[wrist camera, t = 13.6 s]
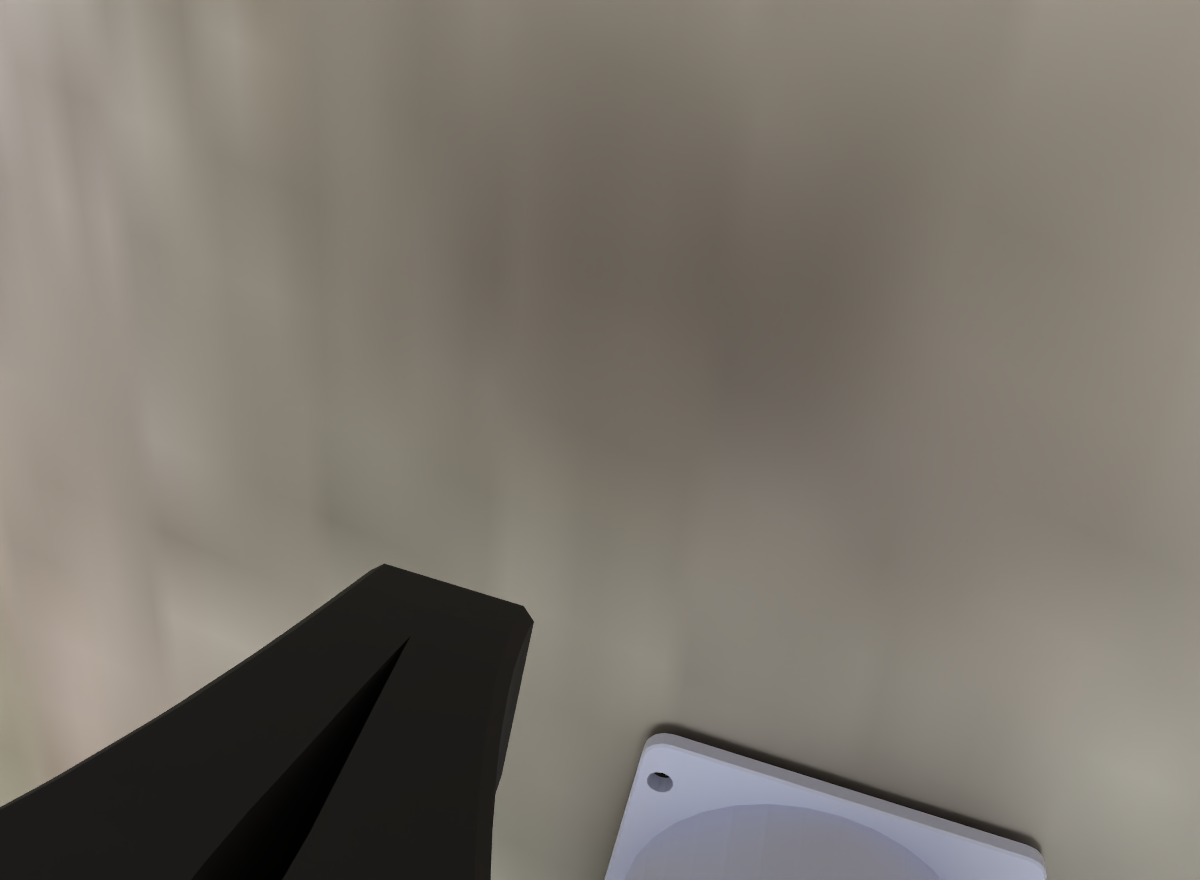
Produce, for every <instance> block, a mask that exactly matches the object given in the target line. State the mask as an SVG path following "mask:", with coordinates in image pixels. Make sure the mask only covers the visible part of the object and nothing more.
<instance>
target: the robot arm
mask: <svg viewBox="0 0 1200 880" xmlns="http://www.w3.org/2000/svg"><path fill="white" fill-rule="evenodd" d="M533 623H534V621H533V619H532V618H531V617H530V615H529V614H528V612H527V611H526V609H525V608H524V606H521V605H518V604H515V603H511V602H508V601H505V600H502V599H498V598H495V597H492V596H488V595H485V594H482V593H479V592H475V591H472V590H469V589H466V588H462V587H459V586H456V585H452V584H449V583H446V582H443V581H439V580H436V579H433V578H429V577H426V576H423V575H420V574H416V573H413V572H410V571H407V570H403V569H400V568H397V567H393V566H390V565H387V564H383V565H381V566H379V567H377V568H375V569H373V570H371V571H369V572H368V573H366V574H365V575H364V576H362V577H361V578H360V579H358V580H357V581H355V582H354V583H353V584H351V585H350V586H349V587H347V588H346V589H345V590H343V591H342V592H340V593H339V594H338V595H336V596H335V597H334V598H332V599H331V600H329V601H328V602H327V603H325V604H324V605H323V606H321V607H320V608H318V609H317V610H316V611H314V612H313V613H312V614H310V615H309V616H307V617H306V618H305V619H303V620H302V621H300V622H299V623H297V624H296V625H295V626H293V627H292V628H290V629H289V630H288V631H286V632H285V633H283V634H282V635H280V636H279V637H277V638H276V639H275V640H273V641H272V642H270V643H269V644H267V645H266V646H265V647H263V648H262V649H260V650H259V651H257V652H256V653H254V654H253V655H251V656H250V657H248V658H247V659H245V660H244V661H242V662H241V663H239V664H238V665H236V666H235V667H233V668H232V669H230V670H229V671H227V672H226V673H224V674H223V675H221V676H220V677H218V678H217V679H215V680H214V681H212V682H210V683H209V684H207V685H206V686H204V687H203V688H201V689H200V690H198V691H197V692H195V693H194V694H192V695H191V696H189V697H188V698H186V699H185V700H183V701H182V702H180V703H179V704H177V705H175V706H174V707H172V708H171V709H169V710H167V711H166V712H164V713H163V714H161V715H159V716H158V717H156V718H155V719H153V720H151V721H150V722H148V723H146V724H145V725H143V726H141V727H139V728H138V729H136V730H134V731H133V732H131V733H129V734H128V735H126V736H124V737H123V738H121V739H119V740H118V741H116V742H114V743H112V744H111V745H109V746H107V747H106V748H104V749H102V750H101V751H99V752H97V753H96V754H94V755H92V756H91V757H89V758H87V759H85V760H84V761H82V762H80V763H79V764H77V765H75V766H74V767H72V768H70V769H69V770H67V771H65V772H63V773H62V774H60V775H58V776H57V777H55V778H53V779H51V780H49V781H48V782H46V783H44V784H42V785H40V786H39V787H37V788H35V789H33V790H31V791H29V792H28V793H26V794H24V795H22V796H20V797H18V798H17V799H15V800H13V801H11V802H9V803H7V804H6V805H4V806H2V807H0V880H491V850H492V828H493V815H494V803H495V793H496V790H497V787H498V784H499V781H500V778H501V775H502V770H503V766H504V761H505V756H506V751H507V747H508V742H509V737H510V732H511V728H512V723H513V718H514V713H515V709H516V704H517V699H518V694H519V690H520V685H521V680H522V675H523V671H524V666H525V661H526V656H527V652H528V647H529V642H530V637H531V633H532V628H533ZM655 772H659V773H664V774H666V775H668V776H669V778H663V777H659V776H657V775H656V774H654V773H655ZM1046 877H1047V873H1046V866H1045V862H1044V858H1043V856H1042V855H1041V854H1040V853H1039V852H1038V851H1037V849H1035V848H1032V847H1030V846H1028V845H1026V844H1023V843H1019V842H1016V841H1013V840H1010V839H1007V838H1003V837H1000V836H997V835H994V834H991V833H987V832H984V831H981V830H978V829H975V828H971V827H968V826H965V825H962V824H959V823H955V822H952V821H949V820H946V819H943V818H939V817H936V816H933V815H930V814H927V813H923V812H920V811H917V810H914V809H911V808H907V807H904V806H901V805H898V804H895V803H891V802H888V801H885V800H882V799H879V798H875V797H872V796H869V795H866V794H863V793H860V792H856V791H853V790H850V789H847V788H844V787H840V786H837V785H834V784H831V783H828V782H824V781H821V780H818V779H815V778H812V777H808V776H805V775H802V774H799V773H796V772H792V771H789V770H786V769H783V768H780V767H776V766H773V765H770V764H767V763H764V762H760V761H757V760H754V759H751V758H748V757H744V756H741V755H738V754H735V753H732V752H728V751H725V750H722V749H719V748H716V747H712V746H709V745H706V744H703V743H700V742H696V741H693V740H690V739H687V738H684V737H680V736H677V735H674V734H668V733H661V734H655V735H653V736H652V737H650V738H648V740H647V741H646V743H645V745H644V748H643V751H642V755H641V758H640V761H639V765H638V768H637V771H636V775H635V778H634V782H633V785H632V788H631V792H630V795H629V798H628V802H627V805H626V808H625V812H624V815H623V819H622V822H621V825H620V829H619V832H618V835H617V839H616V842H615V845H614V849H613V852H612V856H611V859H610V862H609V866H608V869H607V872H606V876H605V879H604V880H1046Z"/></svg>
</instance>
